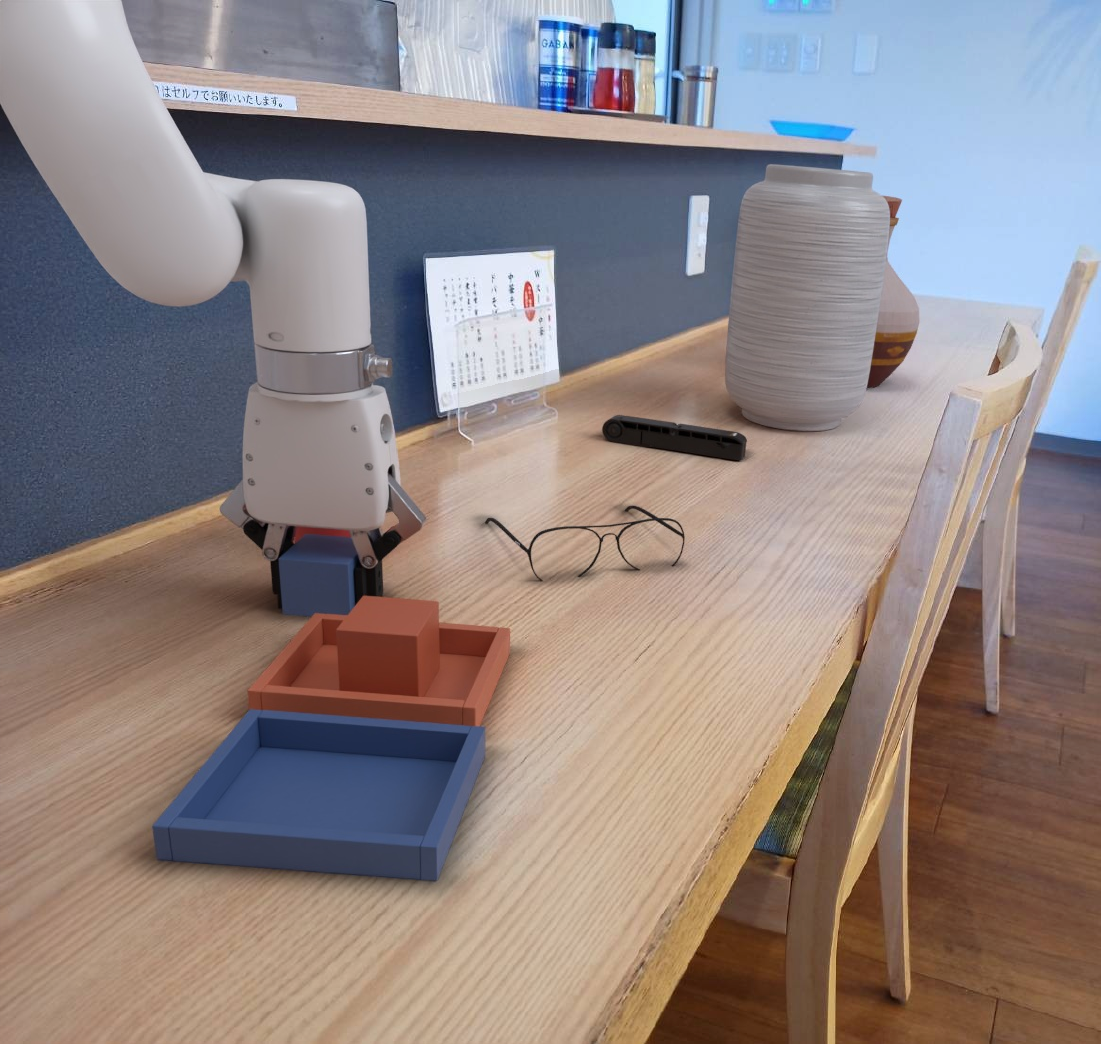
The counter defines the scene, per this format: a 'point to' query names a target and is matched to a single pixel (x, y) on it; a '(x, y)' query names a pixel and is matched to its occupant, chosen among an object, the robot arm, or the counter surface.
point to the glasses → (596, 534)
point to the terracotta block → (389, 646)
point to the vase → (805, 296)
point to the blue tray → (326, 796)
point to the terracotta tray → (453, 697)
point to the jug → (893, 317)
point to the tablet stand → (675, 437)
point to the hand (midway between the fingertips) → (329, 604)
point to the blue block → (318, 576)
